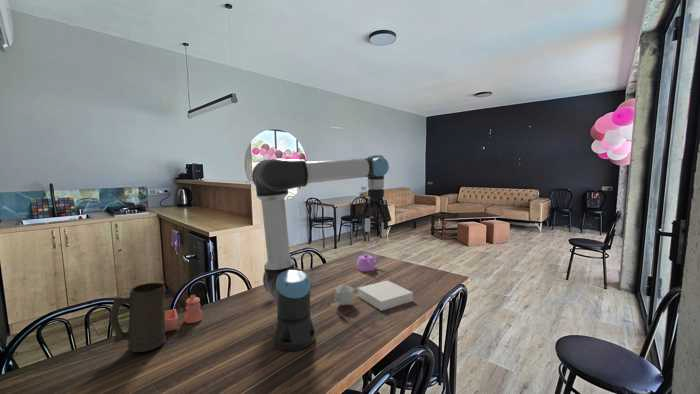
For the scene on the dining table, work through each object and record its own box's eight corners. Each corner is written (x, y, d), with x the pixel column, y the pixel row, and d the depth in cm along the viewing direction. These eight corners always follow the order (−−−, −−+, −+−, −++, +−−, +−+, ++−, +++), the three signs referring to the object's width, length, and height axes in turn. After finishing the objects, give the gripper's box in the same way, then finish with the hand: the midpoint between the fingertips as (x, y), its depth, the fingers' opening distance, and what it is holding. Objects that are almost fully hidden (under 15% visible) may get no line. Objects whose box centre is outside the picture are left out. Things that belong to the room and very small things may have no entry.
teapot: (360, 275, 169) (360, 258, 168) (354, 268, 182) (354, 252, 181) (385, 273, 172) (385, 256, 171) (377, 266, 185) (377, 251, 184)
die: (332, 303, 132) (331, 281, 132) (350, 300, 135) (350, 278, 135) (337, 311, 124) (337, 288, 124) (357, 308, 127) (357, 285, 127)
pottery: (148, 336, 105) (147, 308, 105) (148, 325, 113) (147, 300, 112) (204, 322, 115) (203, 297, 115) (200, 313, 123) (200, 290, 123)
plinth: (381, 310, 125) (381, 301, 124) (357, 296, 140) (357, 287, 140) (412, 300, 134) (412, 292, 134) (387, 288, 149) (387, 280, 149)
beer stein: (161, 332, 109) (158, 279, 107) (173, 342, 102) (170, 285, 101) (108, 351, 97) (104, 292, 95) (118, 364, 90) (114, 301, 89)
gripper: (399, 189, 129) (399, 237, 130) (367, 187, 150) (367, 228, 152) (385, 190, 125) (385, 239, 126) (355, 187, 146) (354, 230, 148)
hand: (375, 233), depth 139 cm, fingers open, 13 cm apart
